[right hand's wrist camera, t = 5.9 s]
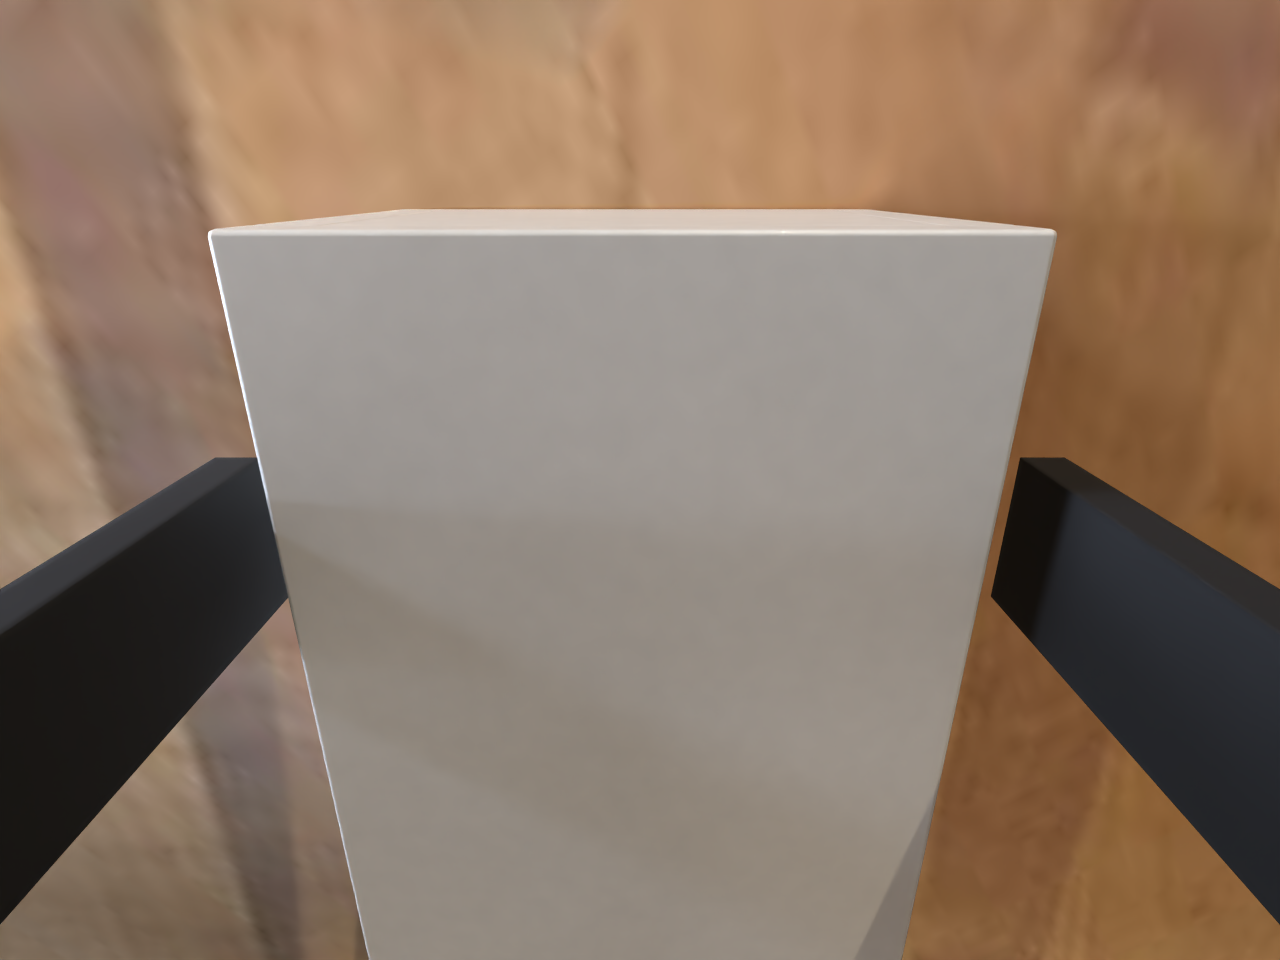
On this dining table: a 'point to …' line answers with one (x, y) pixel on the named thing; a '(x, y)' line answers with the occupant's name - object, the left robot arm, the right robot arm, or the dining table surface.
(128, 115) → the dining table surface
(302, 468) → the cabinet
